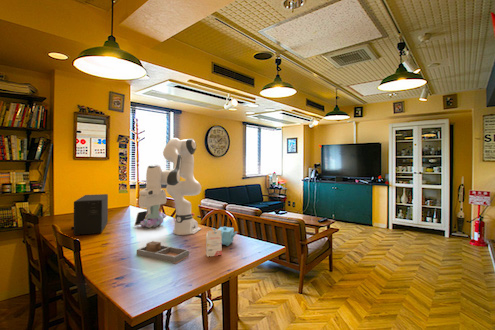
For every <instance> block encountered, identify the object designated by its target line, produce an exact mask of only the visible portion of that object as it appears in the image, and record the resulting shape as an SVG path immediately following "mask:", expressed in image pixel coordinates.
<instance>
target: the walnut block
mask: <svg viewBox="0 0 495 330" xmlns="http://www.w3.org/2000/svg"><path fill="white" fill-rule="evenodd" d="M161 245H162V242H161V241H154V240H152V241H149V242H147V243H146V245H145V246H146V251H150V252H155V253H156V252H158V251H161Z"/></svg>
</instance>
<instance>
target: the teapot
mask: <svg viewBox="0 0 495 330" xmlns="http://www.w3.org/2000/svg"><path fill="white" fill-rule="evenodd" d="M211 229H212V231H213V230H221V235H222V245H225V246H226V247H229V246H230V245H231V244H232V242H233V241H234V237H235V236H236V235H237V234H238V231H234V230H235V229H234V227H230V226H229V227H228V226H219V228H218V229H216V228H214V227H211ZM216 233H217V232H213V234H216Z"/></svg>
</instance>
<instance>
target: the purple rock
mask: <svg viewBox="0 0 495 330" xmlns="http://www.w3.org/2000/svg"><path fill="white" fill-rule="evenodd" d="M165 218H167V214H165V213H164V212H162V211H160V210H159V218H155V219H150V218H148V210H147V209H146V210H145V211H140V212H137V215H136V218H135V222H134V227H136V226H141V227H147V228H149V229H150V228H153V227H156V228H157V227H158V226H160V225H161V224H163V222H164V219H165Z"/></svg>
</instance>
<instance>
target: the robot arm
mask: <svg viewBox="0 0 495 330" xmlns="http://www.w3.org/2000/svg"><path fill="white" fill-rule="evenodd" d="M196 151H197V142H196V141H195V140H194V138H187V139H181V140H180V139H179V138H177V137H173V138H171V139H169V141H168V142H167V143H166V145H165V147H164V148H163V151H162V154H163V157H164V159H165V160H167V162H169V163H173V168H172V169H162V168H161V165H159V164H151V165H148V166H147V168H146V174H145V176H146V177H145V178H146V179H145V180H146V184H145V188H143V189H141V190H139V192H138V193H139V196H138V197H139V198H138V207H139V208H142V209H145V208H146V211H147V210H148V214H151V213H152V211H151V210H150V208H151V206H155V205H159V209H160V208H161V205H165V204H166V203H167V194H168V195H169V196H171V198H172V199H173V200H174V203H175V220H174V225H173V226H174V228H173V229H172V231H173V234H174V235H178V236H179V235H180V236H182V235H183V236H186V235H194V234H196V233H197V232H199V231H201V230H202V227H199V225H198V224H199V223H198V221H197V220H196V219H194V217H195V212H192V203H191V201H189V200H187V199H185V197H186V196H188V197H189V196H191V197H192V196H193V197H194V196H197V195H200V193H201V192H202V185H201V183H200V182H199V181H198V180H196V178H195V175H194V169H195V157H194V154H195V153H196ZM181 178H182V179H185V180H180V179H181ZM162 185H164V186H165V185H166V188H165V189H166V190H164V189H162ZM166 193H167V194H166ZM184 196H185V197H184ZM193 216H194V217H193Z"/></svg>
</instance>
